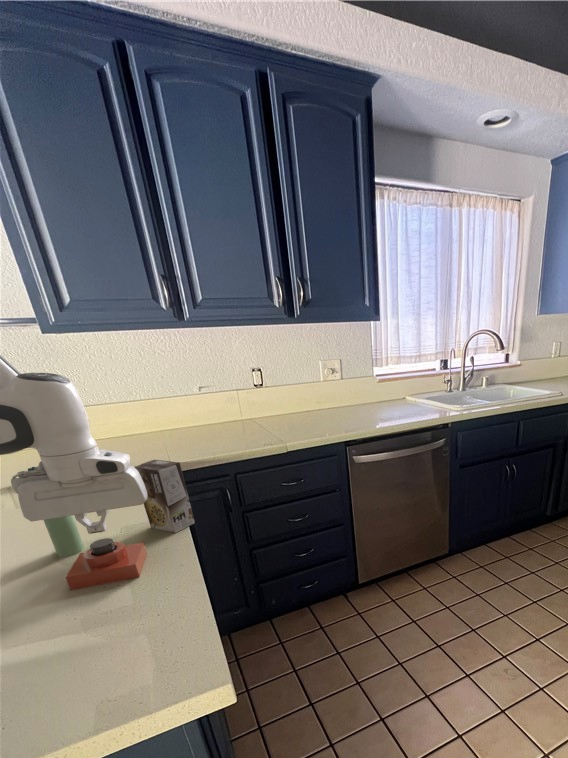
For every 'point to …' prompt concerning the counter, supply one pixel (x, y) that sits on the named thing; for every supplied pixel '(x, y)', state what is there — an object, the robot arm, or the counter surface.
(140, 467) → the coffee box
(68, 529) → the refill bottle
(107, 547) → the grey button cap
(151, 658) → the counter surface
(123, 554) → the reddish-brown angled base
